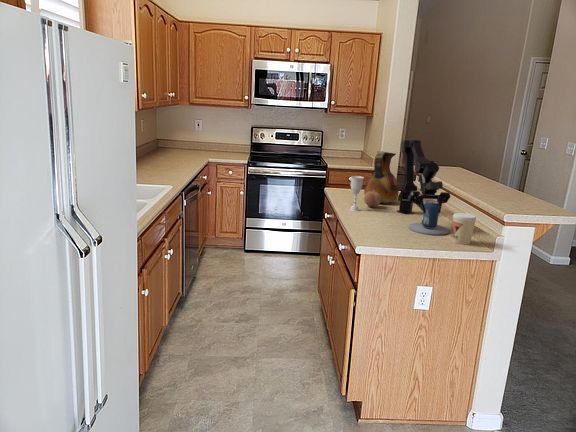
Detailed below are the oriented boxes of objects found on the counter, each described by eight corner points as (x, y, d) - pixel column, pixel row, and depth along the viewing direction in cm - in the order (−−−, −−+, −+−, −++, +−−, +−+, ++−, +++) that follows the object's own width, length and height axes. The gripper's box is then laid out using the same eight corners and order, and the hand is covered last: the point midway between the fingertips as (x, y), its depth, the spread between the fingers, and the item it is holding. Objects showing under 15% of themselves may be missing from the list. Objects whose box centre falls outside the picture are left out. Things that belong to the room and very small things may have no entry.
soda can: (436, 225, 219) (439, 201, 216) (436, 229, 213) (440, 204, 210) (421, 224, 221) (424, 199, 218) (421, 227, 215) (424, 202, 212)
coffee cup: (445, 238, 205) (449, 212, 202) (466, 239, 205) (470, 212, 203) (455, 245, 196) (459, 217, 193) (476, 245, 196) (480, 218, 194)
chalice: (362, 209, 252) (365, 176, 247) (359, 212, 245) (362, 178, 241) (348, 207, 254) (351, 175, 250) (346, 210, 248) (349, 177, 243)
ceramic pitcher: (401, 201, 278) (407, 151, 270) (390, 207, 261) (395, 154, 254) (371, 197, 287) (376, 148, 280) (358, 201, 271) (362, 150, 264)
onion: (362, 205, 263) (363, 187, 261) (378, 206, 263) (380, 188, 260) (364, 208, 254) (366, 191, 251) (381, 209, 254) (383, 191, 251)
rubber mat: (427, 223, 229) (428, 221, 229) (457, 233, 214) (457, 231, 214) (400, 226, 220) (401, 224, 220) (429, 237, 205) (429, 235, 205)
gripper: (412, 174, 214) (418, 202, 206) (451, 175, 216) (458, 204, 208) (405, 187, 224) (410, 215, 216) (442, 188, 225) (448, 216, 217)
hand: (432, 212), depth 214 cm, fingers closed on soda can, 7 cm apart
